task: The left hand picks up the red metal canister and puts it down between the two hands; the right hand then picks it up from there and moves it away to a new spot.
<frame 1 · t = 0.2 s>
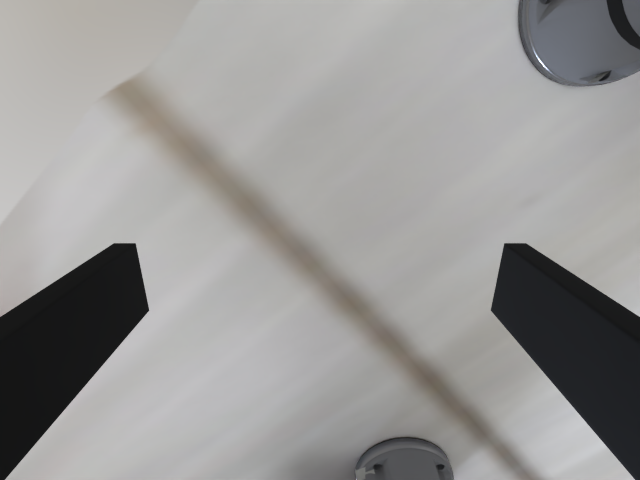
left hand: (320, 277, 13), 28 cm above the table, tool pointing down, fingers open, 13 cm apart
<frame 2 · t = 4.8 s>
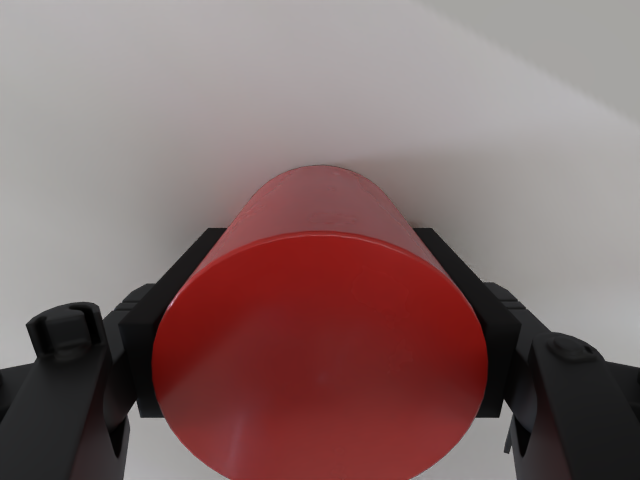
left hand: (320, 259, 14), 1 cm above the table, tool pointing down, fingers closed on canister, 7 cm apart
canister: (319, 249, 15), on the table, touching left hand
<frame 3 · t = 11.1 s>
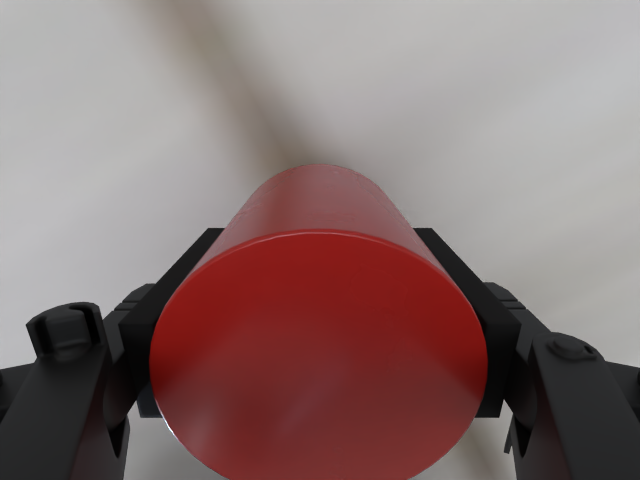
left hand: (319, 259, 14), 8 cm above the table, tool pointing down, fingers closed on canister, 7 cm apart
canister: (319, 248, 15), point 7 cm above the table, touching left hand
when the left hand's fingers open (2 cm above the table, at t = 17.5 s): canister drops 1 cm, on the table.
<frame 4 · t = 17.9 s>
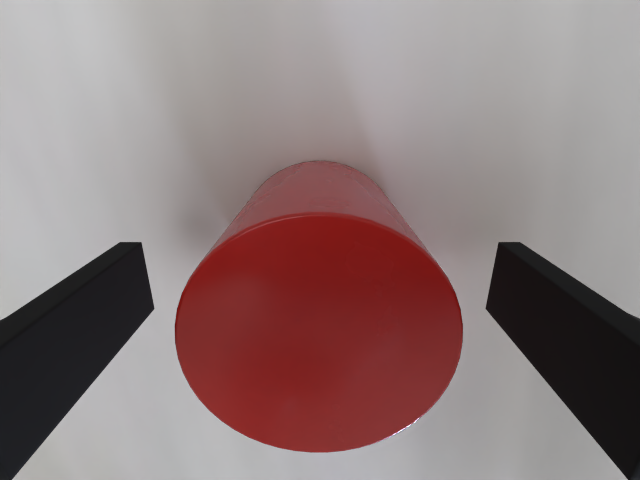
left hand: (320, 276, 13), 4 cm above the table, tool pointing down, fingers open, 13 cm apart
canister: (319, 239, 16), on the table
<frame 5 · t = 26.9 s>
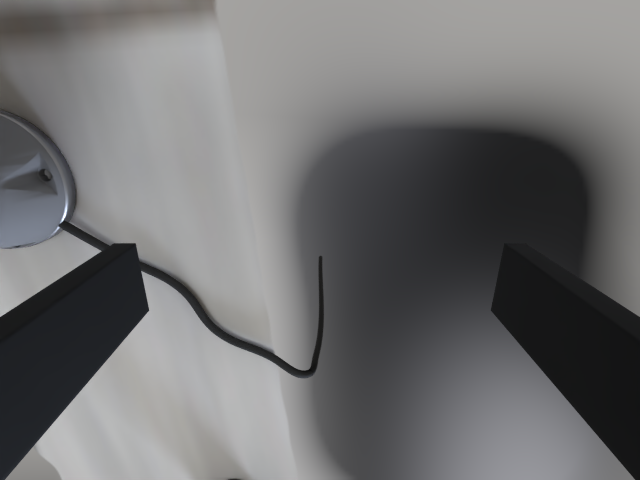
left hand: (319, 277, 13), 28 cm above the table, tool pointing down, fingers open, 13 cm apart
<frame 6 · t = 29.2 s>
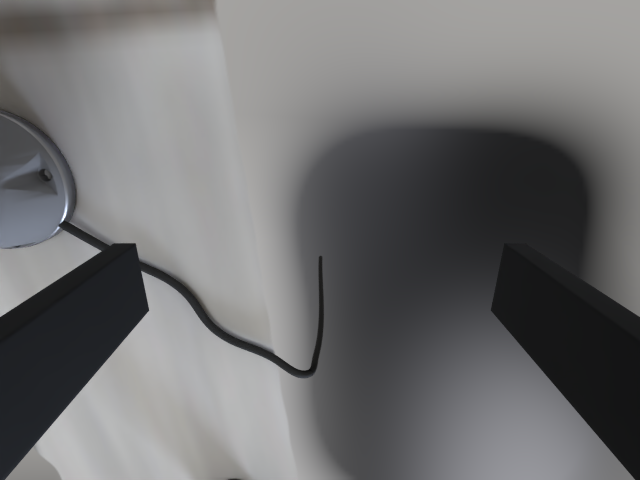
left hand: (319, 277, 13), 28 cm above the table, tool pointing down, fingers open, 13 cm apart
when the right hand's fingers open (2 cm above the table, at t = 31.8 s): canister drops 1 cm, on the table.
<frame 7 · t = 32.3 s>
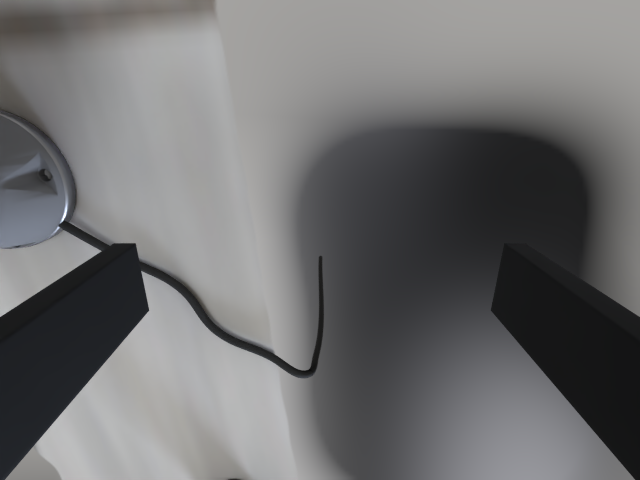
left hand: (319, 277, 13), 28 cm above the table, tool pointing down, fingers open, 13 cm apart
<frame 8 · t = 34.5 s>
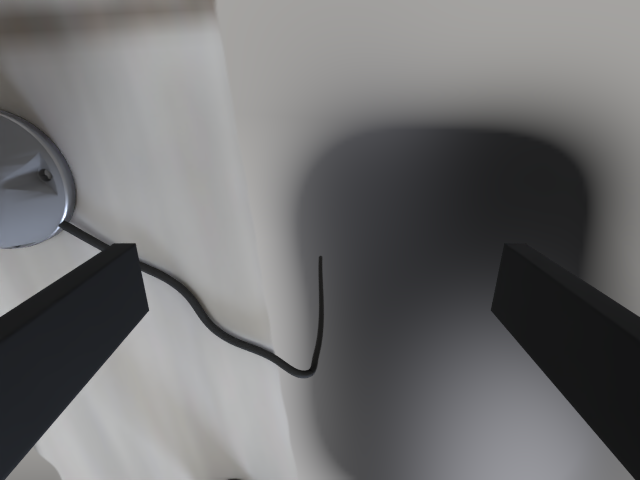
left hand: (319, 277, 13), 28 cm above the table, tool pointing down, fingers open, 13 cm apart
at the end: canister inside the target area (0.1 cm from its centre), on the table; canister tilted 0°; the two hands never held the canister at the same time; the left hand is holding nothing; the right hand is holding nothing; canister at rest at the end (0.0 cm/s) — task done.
